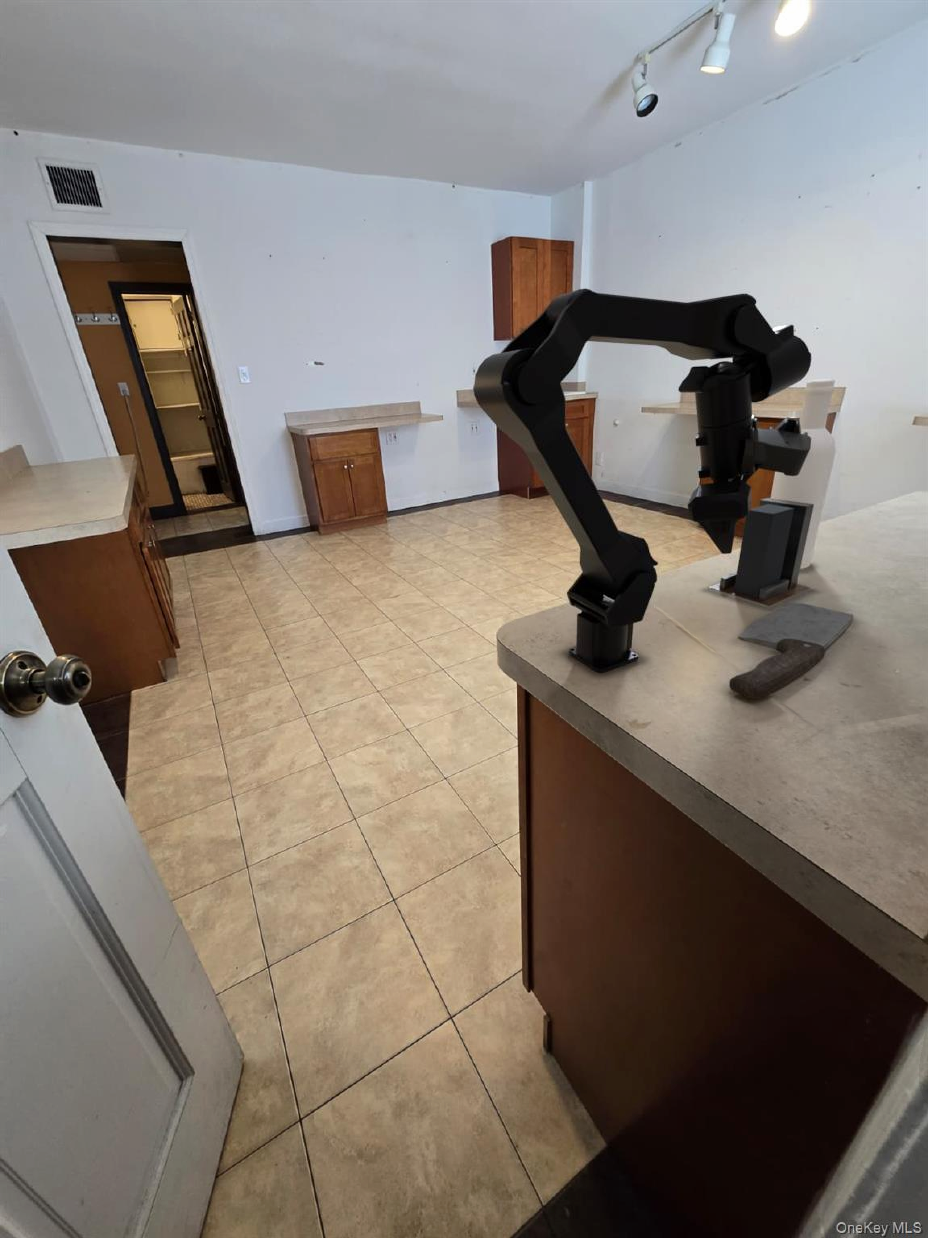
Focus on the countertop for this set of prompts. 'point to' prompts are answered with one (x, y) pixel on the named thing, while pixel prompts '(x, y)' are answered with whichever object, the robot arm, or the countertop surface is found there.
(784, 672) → the cleaver
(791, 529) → the pad mount
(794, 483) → the bottle
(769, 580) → the back pad
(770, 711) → the countertop surface
